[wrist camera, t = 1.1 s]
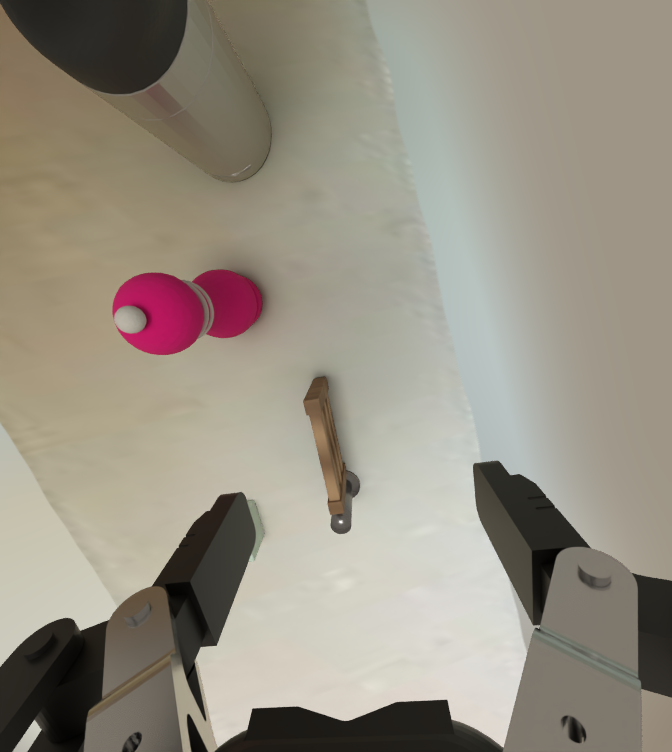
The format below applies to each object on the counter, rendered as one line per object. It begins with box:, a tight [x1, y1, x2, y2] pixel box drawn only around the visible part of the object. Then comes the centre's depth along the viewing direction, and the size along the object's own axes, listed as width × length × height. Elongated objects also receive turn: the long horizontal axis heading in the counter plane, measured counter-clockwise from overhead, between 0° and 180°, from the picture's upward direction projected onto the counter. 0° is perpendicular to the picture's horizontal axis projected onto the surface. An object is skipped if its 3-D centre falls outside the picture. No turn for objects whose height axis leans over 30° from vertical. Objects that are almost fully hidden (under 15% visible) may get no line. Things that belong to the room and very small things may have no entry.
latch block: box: [247, 500, 264, 562], centre depth 46 cm, size 6×3×5 cm, turn 11°
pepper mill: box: [113, 270, 262, 355], centre depth 30 cm, size 7×7×20 cm
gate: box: [303, 377, 347, 515], centre depth 39 cm, size 14×2×8 cm, turn 11°
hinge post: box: [331, 471, 360, 534], centre depth 41 cm, size 4×4×8 cm
